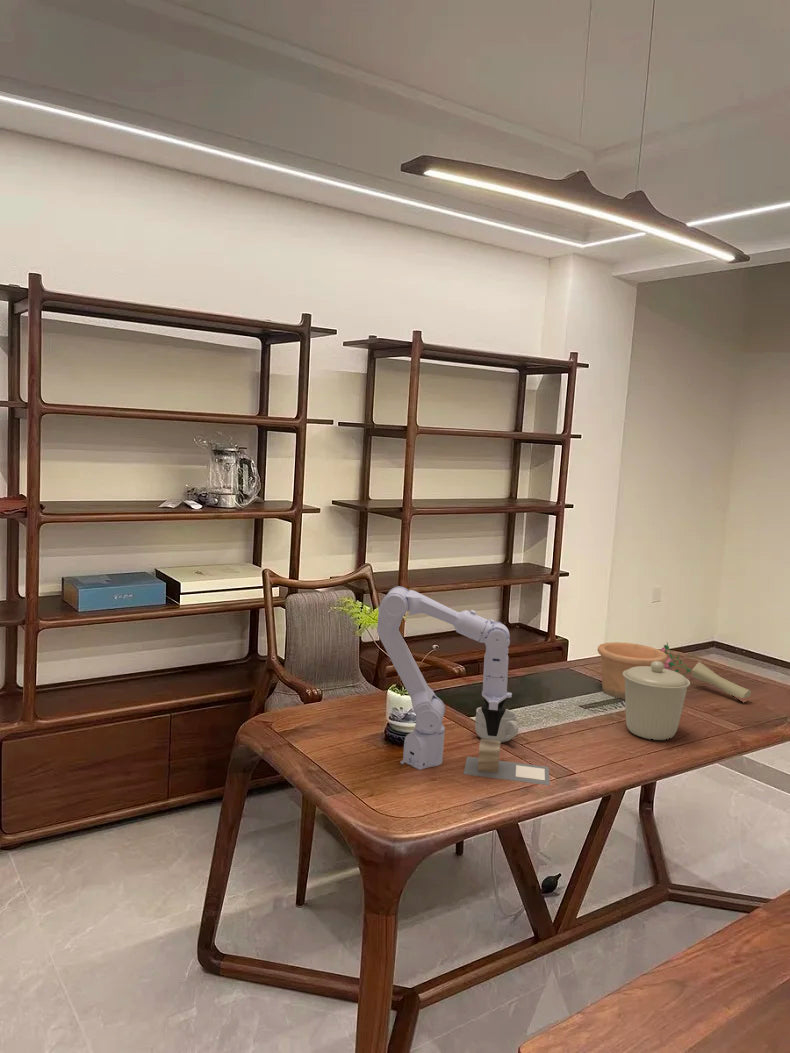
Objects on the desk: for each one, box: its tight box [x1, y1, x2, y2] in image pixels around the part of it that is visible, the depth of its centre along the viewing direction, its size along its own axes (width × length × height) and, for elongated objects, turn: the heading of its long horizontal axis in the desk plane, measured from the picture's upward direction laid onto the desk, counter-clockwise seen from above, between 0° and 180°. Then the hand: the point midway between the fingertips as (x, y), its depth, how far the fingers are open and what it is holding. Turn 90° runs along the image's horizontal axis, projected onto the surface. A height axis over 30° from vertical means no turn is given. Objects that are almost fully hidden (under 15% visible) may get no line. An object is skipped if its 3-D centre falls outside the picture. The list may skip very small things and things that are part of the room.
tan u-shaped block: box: [477, 738, 501, 773], centre depth 193 cm, size 5×5×6 cm
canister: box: [623, 661, 691, 741], centre depth 227 cm, size 18×18×21 cm
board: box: [463, 755, 551, 786], centre depth 193 cm, size 20×11×1 cm, turn 80°
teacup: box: [474, 706, 519, 744], centre depth 213 cm, size 14×11×8 cm
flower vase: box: [659, 642, 752, 698], centre depth 276 cm, size 12×12×35 cm
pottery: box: [597, 641, 668, 700], centre depth 265 cm, size 22×22×14 cm
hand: (492, 729), depth 193 cm, fingers open, 7 cm apart
